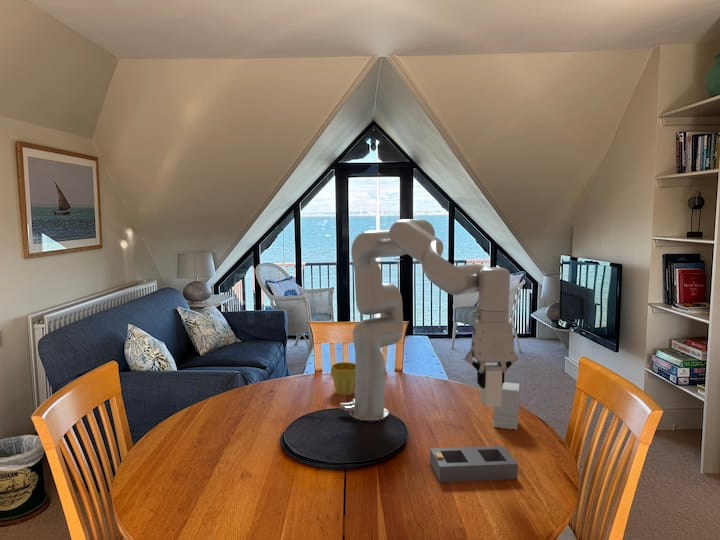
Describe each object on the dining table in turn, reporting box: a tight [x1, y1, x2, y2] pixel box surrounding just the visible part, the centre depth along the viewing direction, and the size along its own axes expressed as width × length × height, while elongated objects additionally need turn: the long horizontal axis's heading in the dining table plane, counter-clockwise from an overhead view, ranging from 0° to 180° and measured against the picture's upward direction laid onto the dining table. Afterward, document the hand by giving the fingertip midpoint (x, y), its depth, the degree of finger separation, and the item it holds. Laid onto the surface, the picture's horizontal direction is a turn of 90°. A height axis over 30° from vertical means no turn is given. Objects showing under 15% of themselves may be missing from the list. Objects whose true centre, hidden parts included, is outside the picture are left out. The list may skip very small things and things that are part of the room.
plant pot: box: [330, 361, 355, 396], centre depth 192 cm, size 10×10×10 cm
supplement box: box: [493, 381, 520, 431], centre depth 166 cm, size 7×7×13 cm
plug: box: [479, 362, 502, 408], centre depth 136 cm, size 4×5×10 cm
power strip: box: [429, 445, 519, 483], centre depth 136 cm, size 20×10×5 cm, turn 96°
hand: (490, 385), depth 136 cm, fingers closed on plug, 4 cm apart
